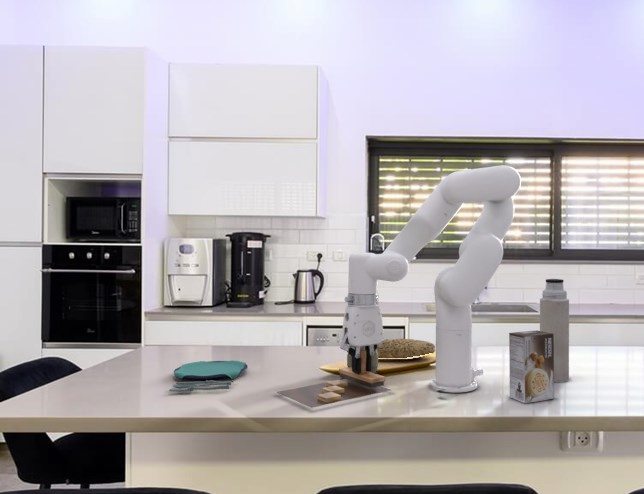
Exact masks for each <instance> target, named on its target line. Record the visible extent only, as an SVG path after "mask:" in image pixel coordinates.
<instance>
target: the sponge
mask: <svg viewBox="0 0 644 494" xmlns="http://www.w3.org/2000/svg"><path fill="white" fill-rule="evenodd" d="M382 341H383V344H382V345H380V346H379V347H377V352H378V358H407V357H413V356H420V355H425V354H429V353H432V354H434V353H436V345H435V344H434V343H432V342H430V341H426V340H421V339H420V340H419V339H413V338H404V337H403V338H395V339H387V338H386V339H383V340H382ZM378 361H409V360H408V359H378Z"/></svg>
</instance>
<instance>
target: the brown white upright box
mask: <svg viewBox="0 0 644 494" xmlns="http://www.w3.org/2000/svg"><path fill="white" fill-rule="evenodd" d="M508 334H509V335H508V338H509V339H508V340H509V341H508V343H509V344H508V347H509V351H508V352H509V353H508V354H509V355H508V356H509V357H508V358H509V398H511V399H513V400H516V401H518V402H521V403H523V404H530V403H535V402H542V401H547V400H553V399H555V382H554V334H553V333H548V332H543V331H540V330H527V331H514V332H508Z"/></svg>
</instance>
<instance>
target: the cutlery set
mask: <svg viewBox="0 0 644 494" xmlns="http://www.w3.org/2000/svg"><path fill="white" fill-rule="evenodd" d="M246 370H248V364H246V362H245V361H240V360H235V359H234V360H233V359H232V360H213V361H212V360H209V361H204V360H203V361H202V360H200V361H193V362H189V363H185V364H184V363H183V364H182V365H181V366H179V367H177V368H175V369H174V370H173V376H174V377H175V378H177V379H182V380H184V379H193V380H194V379H198V380H199V379H206V380H205V381H178V382H175V384H173V385H172V387H173V388H169V390H168V392H172V393H173V392H174V393H175V392H190V393H191V392H194V391H195V390H199V391H213V390H214V391H215V390H229V389H230V386H231V385H232V384H234V380H235V379H236V378H237V377H238V376H239V375H240V373H243V372H245V371H246ZM225 377H229V378H230V380H213V379H217V378H225ZM207 379H210V380H207Z"/></svg>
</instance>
